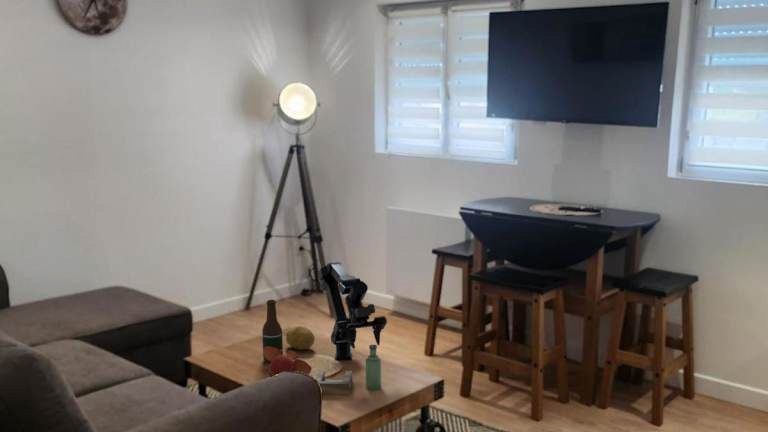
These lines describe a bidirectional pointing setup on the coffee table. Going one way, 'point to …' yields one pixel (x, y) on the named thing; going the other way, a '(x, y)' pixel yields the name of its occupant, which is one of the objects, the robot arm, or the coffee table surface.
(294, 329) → the potato
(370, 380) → the bottle
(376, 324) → the robot arm
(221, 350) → the coffee table surface
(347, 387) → the square wooden tray
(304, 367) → the brown red lumpy cluster
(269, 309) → the beer bottle
